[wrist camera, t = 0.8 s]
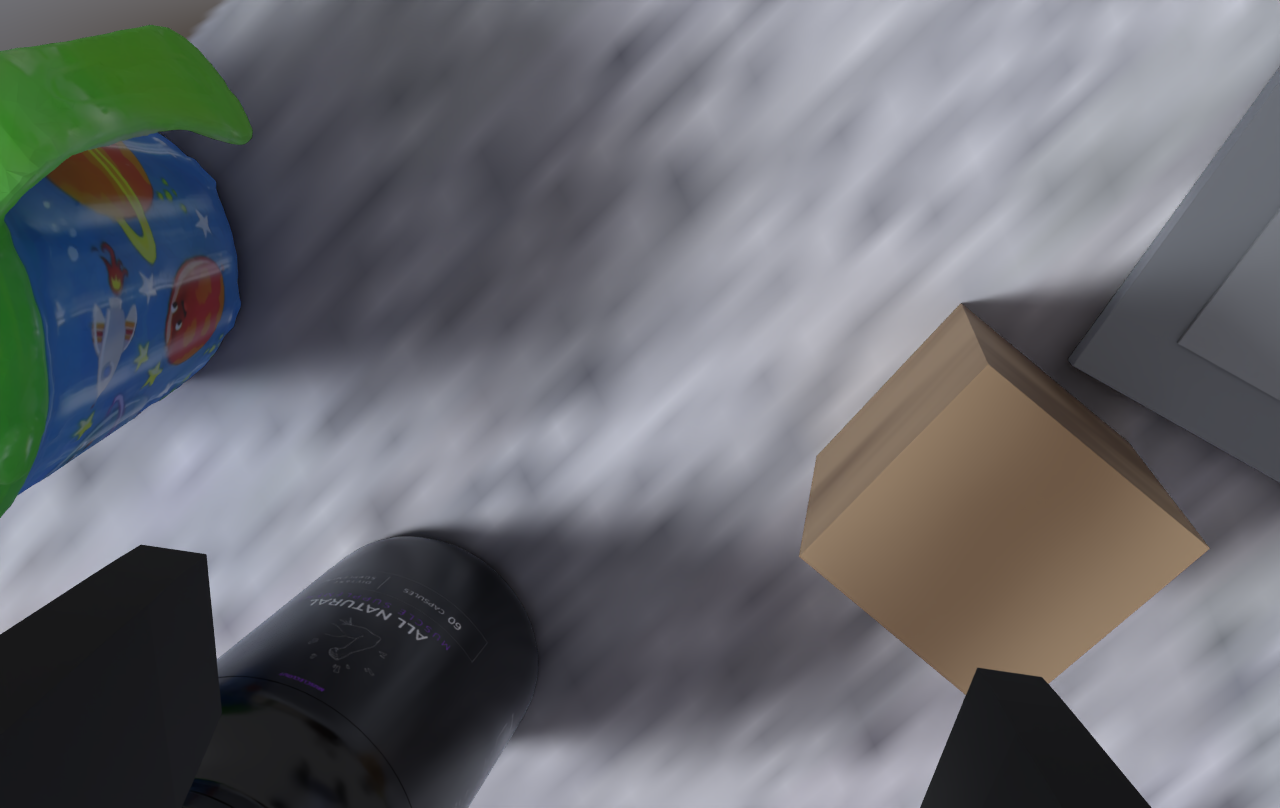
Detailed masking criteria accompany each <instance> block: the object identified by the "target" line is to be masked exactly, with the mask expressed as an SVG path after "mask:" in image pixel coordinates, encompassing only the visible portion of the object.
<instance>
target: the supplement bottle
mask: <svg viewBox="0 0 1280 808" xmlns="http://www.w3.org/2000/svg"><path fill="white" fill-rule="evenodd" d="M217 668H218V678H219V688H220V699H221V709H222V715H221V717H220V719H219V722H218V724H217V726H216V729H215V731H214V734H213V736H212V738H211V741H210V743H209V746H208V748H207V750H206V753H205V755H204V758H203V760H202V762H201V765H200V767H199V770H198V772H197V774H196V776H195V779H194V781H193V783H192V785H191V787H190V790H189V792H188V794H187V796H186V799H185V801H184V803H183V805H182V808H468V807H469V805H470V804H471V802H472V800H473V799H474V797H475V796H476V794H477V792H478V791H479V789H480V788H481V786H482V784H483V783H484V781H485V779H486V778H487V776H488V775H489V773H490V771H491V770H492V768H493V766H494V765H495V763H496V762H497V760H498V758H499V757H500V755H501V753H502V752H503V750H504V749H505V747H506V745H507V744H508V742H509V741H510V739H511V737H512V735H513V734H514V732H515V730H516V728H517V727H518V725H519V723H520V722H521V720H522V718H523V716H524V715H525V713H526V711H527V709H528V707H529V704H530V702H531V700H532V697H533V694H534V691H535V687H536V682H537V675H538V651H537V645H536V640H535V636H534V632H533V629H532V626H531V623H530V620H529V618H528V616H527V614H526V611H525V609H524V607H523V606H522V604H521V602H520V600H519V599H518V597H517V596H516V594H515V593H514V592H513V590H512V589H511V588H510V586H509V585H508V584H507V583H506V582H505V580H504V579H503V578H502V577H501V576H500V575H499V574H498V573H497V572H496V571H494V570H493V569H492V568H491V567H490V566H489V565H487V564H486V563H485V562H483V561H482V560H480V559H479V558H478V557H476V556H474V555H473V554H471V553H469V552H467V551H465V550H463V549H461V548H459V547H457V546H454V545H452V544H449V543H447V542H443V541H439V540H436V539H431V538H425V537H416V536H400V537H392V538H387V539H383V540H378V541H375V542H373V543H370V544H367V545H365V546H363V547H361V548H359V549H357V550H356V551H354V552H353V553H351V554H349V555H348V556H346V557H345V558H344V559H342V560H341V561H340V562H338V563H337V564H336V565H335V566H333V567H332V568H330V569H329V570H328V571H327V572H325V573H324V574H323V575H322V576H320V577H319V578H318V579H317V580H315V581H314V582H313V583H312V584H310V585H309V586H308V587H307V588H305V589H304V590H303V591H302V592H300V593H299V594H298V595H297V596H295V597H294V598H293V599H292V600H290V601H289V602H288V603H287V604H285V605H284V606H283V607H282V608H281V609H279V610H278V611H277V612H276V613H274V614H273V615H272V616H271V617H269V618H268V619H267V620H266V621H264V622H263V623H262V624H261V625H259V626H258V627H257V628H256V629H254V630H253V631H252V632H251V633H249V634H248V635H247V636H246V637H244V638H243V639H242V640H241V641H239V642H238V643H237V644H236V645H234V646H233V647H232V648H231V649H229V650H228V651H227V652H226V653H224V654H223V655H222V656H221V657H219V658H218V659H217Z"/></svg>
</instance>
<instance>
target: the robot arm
mask: <svg viewBox="0 0 1280 808" xmlns="http://www.w3.org/2000/svg"><path fill="white" fill-rule="evenodd" d="M221 715H222V709H221V699H220V688H219V678H218V668H217V658H216V648H215V637H214V627H213V617H212V607H211V597H210V587H209V576H208V566H207V556H206V554H201V553H194V552H187V551H180V550H174V549H167V548H160V547H153V546H146V545H140V546H138V547H136V548H135V549H133V550H131V551H130V552H128V553H126V554H125V555H123V556H121V557H120V558H118V559H117V560H115V561H113V562H112V563H110V564H109V565H107V566H105V567H104V568H102V569H101V570H99V571H98V572H96V573H95V574H93V575H91V576H90V577H88V578H87V579H85V580H84V581H82V582H81V583H79V584H78V585H76V586H74V587H73V588H71V589H70V590H68V591H67V592H65V593H64V594H62V595H61V596H59V597H58V598H56V599H54V600H53V601H51V602H50V603H48V604H47V605H45V606H44V607H42V608H41V609H39V610H38V611H36V612H34V613H33V614H31V615H30V616H28V617H27V618H25V619H24V620H22V621H21V622H19V623H17V624H16V625H14V626H13V627H11V628H10V629H8V630H7V631H5V632H3V633H2V634H0V808H182V805H183V803H184V801H185V799H186V796H187V794H188V792H189V790H190V787H191V785H192V783H193V781H194V779H195V776H196V774H197V772H198V770H199V767H200V765H201V762H202V760H203V758H204V755H205V753H206V750H207V748H208V746H209V743H210V741H211V738H212V736H213V734H214V731H215V729H216V726H217V724H218V722H219V719H220V717H221ZM920 808H1151V807H1150V805H1149V804H1148V803H1147V802H1146V801H1145V799H1144V798H1143V797H1142V796H1141V795H1140V793H1139V792H1138V791H1137V790H1136V788H1135V787H1134V786H1133V785H1132V784H1131V782H1130V781H1129V780H1128V779H1127V778H1126V776H1125V775H1124V774H1123V773H1122V772H1121V770H1120V769H1119V768H1118V767H1117V766H1116V764H1115V763H1114V762H1113V761H1112V760H1111V758H1110V757H1109V756H1108V755H1107V753H1106V752H1105V751H1104V750H1103V749H1102V747H1101V746H1100V745H1099V744H1098V743H1097V741H1096V740H1095V739H1094V738H1093V736H1092V735H1091V734H1090V733H1089V732H1088V730H1087V729H1086V728H1085V727H1084V726H1083V724H1082V723H1081V722H1080V721H1079V719H1078V718H1077V717H1076V716H1075V715H1074V713H1073V712H1072V711H1071V710H1070V709H1069V708H1068V706H1067V705H1066V704H1065V703H1064V702H1063V700H1062V699H1061V698H1060V697H1059V696H1058V695H1057V693H1056V692H1055V691H1054V690H1053V689H1052V688H1051V687H1050V685H1049V684H1048V683H1047V682H1046V681H1045V680H1044V679H1043V677H1039V676H1032V675H1025V674H1018V673H1011V672H1005V671H998V670H991V669H984V668H977V669H976V672H975V674H974V677H973V679H972V682H971V684H970V687H969V689H968V692H967V694H966V696H965V699H964V701H963V704H962V706H961V709H960V711H959V714H958V716H957V719H956V721H955V723H954V726H953V728H952V731H951V733H950V736H949V738H948V741H947V743H946V746H945V748H944V750H943V753H942V755H941V758H940V760H939V763H938V765H937V768H936V770H935V773H934V775H933V778H932V780H931V782H930V785H929V787H928V790H927V792H926V795H925V797H924V800H923V802H922V805H921V807H920Z"/></svg>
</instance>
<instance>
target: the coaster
mask: <svg viewBox="0 0 1280 808" xmlns="http://www.w3.org/2000/svg"><path fill="white" fill-rule="evenodd" d="M1068 360H1069V362H1070V363H1071V364H1072V366H1074V367H1076V368H1078V369H1079V370H1081V371H1083V372H1085V373H1086V374H1088V375H1090V376H1092V377H1094V378H1095V379H1097V380H1099V381H1101V382H1102V383H1104V384H1106V385H1108V386H1109V387H1111V388H1113V389H1115V390H1116V391H1118V392H1120V393H1122V394H1124V395H1125V396H1127V397H1129V398H1131V399H1132V400H1134V401H1136V402H1138V403H1139V404H1141V405H1143V406H1145V407H1147V408H1148V409H1150V410H1152V411H1154V412H1155V413H1157V414H1159V415H1161V416H1162V417H1164V418H1166V419H1168V420H1169V421H1171V422H1173V423H1175V424H1177V425H1178V426H1180V427H1182V428H1184V429H1185V430H1187V431H1189V432H1191V433H1192V434H1194V435H1196V436H1198V437H1200V438H1201V439H1203V440H1205V441H1207V442H1208V443H1210V444H1212V445H1214V446H1215V447H1217V448H1219V449H1221V450H1222V451H1224V452H1226V453H1228V454H1230V455H1231V456H1233V457H1235V458H1237V459H1238V460H1240V461H1242V462H1244V463H1245V464H1247V465H1249V466H1251V467H1253V468H1254V469H1256V470H1258V471H1260V472H1261V473H1263V474H1265V475H1267V476H1268V477H1270V478H1272V479H1274V480H1275V481H1277V482H1279V483H1280V67H1279V68H1278V70H1277V71H1276V73H1275V74H1274V75H1273V77H1272V78H1271V79H1270V81H1269V82H1268V84H1267V85H1266V86H1265V88H1264V89H1263V91H1262V92H1261V93H1260V95H1259V96H1258V97H1257V99H1256V100H1255V102H1254V103H1253V104H1252V106H1251V107H1250V108H1249V110H1248V111H1247V113H1246V114H1245V115H1244V117H1243V118H1242V120H1241V121H1240V122H1239V124H1238V125H1237V126H1236V128H1235V129H1234V131H1233V132H1232V133H1231V135H1230V136H1229V137H1228V139H1227V140H1226V142H1225V143H1224V144H1223V146H1222V147H1221V149H1220V150H1219V151H1218V153H1217V154H1216V155H1215V157H1214V158H1213V160H1212V161H1211V162H1210V164H1209V165H1208V166H1207V168H1206V169H1205V171H1204V172H1203V173H1202V175H1201V176H1200V178H1199V179H1198V180H1197V182H1196V183H1195V184H1194V186H1193V187H1192V189H1191V190H1190V191H1189V193H1188V194H1187V195H1186V197H1185V198H1184V200H1183V201H1182V202H1181V204H1180V205H1179V207H1178V208H1177V209H1176V211H1175V212H1174V213H1173V215H1172V216H1171V218H1170V219H1169V220H1168V222H1167V223H1166V224H1165V226H1164V227H1163V229H1162V230H1161V231H1160V233H1159V234H1158V236H1157V237H1156V238H1155V240H1154V241H1153V242H1152V244H1151V245H1150V247H1149V248H1148V249H1147V251H1146V252H1145V253H1144V255H1143V256H1142V258H1141V259H1140V260H1139V262H1138V263H1137V265H1136V266H1135V267H1134V269H1133V270H1132V271H1131V273H1130V274H1129V276H1128V277H1127V278H1126V280H1125V281H1124V282H1123V284H1122V285H1121V287H1120V288H1119V289H1118V291H1117V292H1116V294H1115V295H1114V296H1113V298H1112V299H1111V300H1110V302H1109V303H1108V305H1107V306H1106V307H1105V309H1104V310H1103V311H1102V313H1101V314H1100V316H1099V317H1098V318H1097V320H1096V321H1095V323H1094V324H1093V325H1092V327H1091V328H1090V329H1089V331H1088V332H1087V334H1086V335H1085V336H1084V338H1083V339H1082V340H1081V342H1080V343H1079V345H1078V346H1077V347H1076V349H1075V350H1074V352H1073V353H1072V354H1071V356H1070V357H1069V358H1068Z"/></svg>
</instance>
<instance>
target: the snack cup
mask: <svg viewBox="0 0 1280 808" xmlns="http://www.w3.org/2000/svg"><path fill="white" fill-rule="evenodd" d="M169 130H189V131H192V132H194V133H197V134H200V135H203V136H206V137H209V138H212V139H215V140H219V141H223V142H226V143H231V144H237V145H242V144H246V143H247V142H249V140H250V139H251V138H252V134H253V130H252V128H251V125H250V123H249V120H248V117H247V115H246V113H245V111H244V109H243V107H242V105H241V103H240V102H239V100H238V99H237V98H236V97H235V95H234V94H233V93H232V92H231V91H230V90H229V89H228V87H227V85H226V83H225V81H224V80H223V78H222V77H221V76H220V75H219V73H218V72H217V71H216V70H215V68H214V67H213V66H212V64H211V63H210V62H209V61H208V60H207V59H206V58H205V57H204V55H203V54H202V53H201V52H200V51H199V50H198V49H197V48H196V47H195V46H194V45H192V44H191V43H190V42H189V41H188V40H187V39H186V38H184V37H183V36H181V35H180V34H178V33H176V32H175V31H173V30H171V29H169V28H166V27H160V26H154V25H148V26H143V27H139V28H133V29H126V30H120V31H115V32H112V33H108V34H103V35H97V36H91V37H86V38H80V39H76V40H73V41H67V42H60V43H51V44H46V45H40V46H34V47H24V48H15V49H10V50H5V51H0V518H1V516H2V515H3V514H4V513H5V511H6V510H7V509H8V508H9V507H10V506H11V505H12V503H13V502H14V500H15V498H16V496H17V495H19V494H20V493H22V492H23V491H25V490H26V489H28V488H30V487H31V486H33V485H34V484H36V483H38V482H40V481H41V480H43V479H44V478H46V477H48V476H49V475H51V474H52V473H54V472H55V471H57V470H58V469H59V468H61V467H62V466H64V465H65V464H67V463H68V462H70V461H71V460H73V459H74V458H75V457H77V456H78V455H80V454H81V453H83V452H84V451H86V450H87V449H89V448H90V447H92V446H93V445H95V444H96V443H98V442H99V441H101V440H102V439H104V438H105V437H107V436H108V435H110V434H111V433H113V432H114V431H116V430H117V429H119V428H120V427H122V426H123V425H124V424H126V423H127V422H129V421H130V420H132V419H134V418H135V417H136V416H137V415H139V414H140V413H141V412H142V411H143V410H144V409H146V408H147V407H148V406H150V405H151V404H153V403H155V402H157V401H160V400H161V399H163V398H165V397H166V396H167V395H168V394H169V393H171V392H172V391H174V390H175V389H176V388H178V387H180V386H181V385H182V384H183V383H184V382H186V381H187V380H188V379H190V378H191V377H192V376H193V375H194V374H195V373H197V372H198V371H199V370H200V369H201V368H203V367H204V366H205V365H206V363H207V362H208V361H209V359H210V358H211V357H212V356H213V355H214V354H215V352H216V351H217V349H218V347H219V345H220V344H221V342H222V340H223V338H224V336H225V335H226V334H227V333H228V332H229V331H230V330H231V329H232V328H233V327H234V325H235V319H236V317H237V314H238V312H239V310H240V307H241V301H240V298H239V291H238V283H237V280H238V268H237V253H236V249H235V246H234V241H233V236H232V231H231V228H230V225H229V222H228V219H227V217H226V215H225V212H224V209H223V206H222V204H221V202H220V200H219V197H218V194H217V190H216V181H215V180H214V179H213V178H212V177H211V176H210V175H209V174H208V173H207V172H206V171H205V170H204V169H203V168H202V167H201V166H200V165H199V163H198V162H197V161H196V160H195V159H193V158H191V157H188V156H186V155H185V154H184V153H183V152H182V151H181V150H180V149H179V148H178V147H177V146H176V145H174V144H173V143H172V142H171V141H169V140H168V139H166V138H165V137H163V136H162V135H161V134H159V133H158V132H162V131H169Z"/></svg>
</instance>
